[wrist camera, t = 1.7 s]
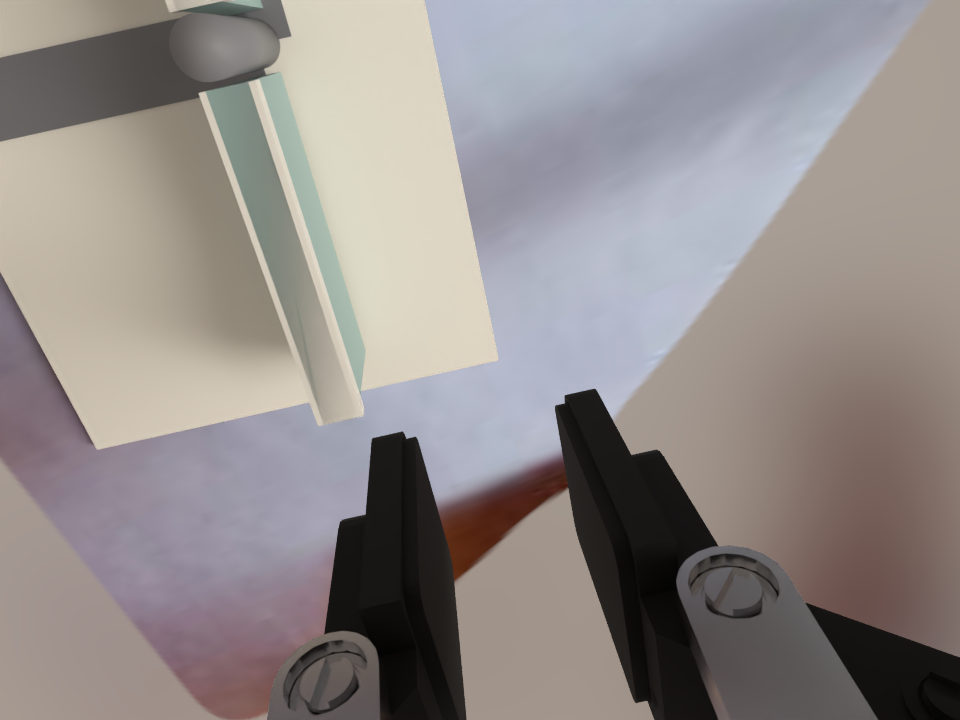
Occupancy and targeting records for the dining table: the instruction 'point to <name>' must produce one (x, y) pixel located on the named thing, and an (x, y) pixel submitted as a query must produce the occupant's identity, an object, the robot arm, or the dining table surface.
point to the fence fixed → (220, 39)
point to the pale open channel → (290, 239)
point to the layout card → (223, 209)
